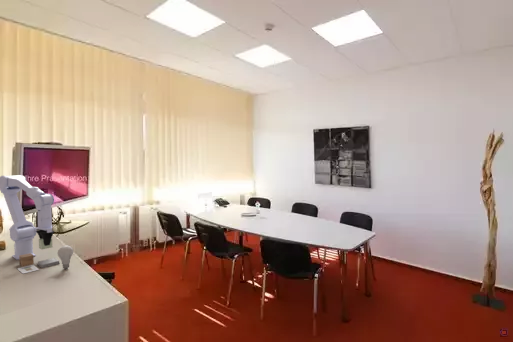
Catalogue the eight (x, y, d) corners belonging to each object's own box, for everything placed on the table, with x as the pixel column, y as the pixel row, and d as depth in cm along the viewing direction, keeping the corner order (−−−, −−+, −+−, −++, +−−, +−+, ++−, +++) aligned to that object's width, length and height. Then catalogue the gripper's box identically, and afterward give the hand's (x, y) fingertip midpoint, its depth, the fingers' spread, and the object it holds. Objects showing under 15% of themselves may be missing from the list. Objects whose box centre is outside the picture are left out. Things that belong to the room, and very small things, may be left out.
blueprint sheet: (16, 268, 132) (16, 268, 132) (32, 264, 137) (32, 264, 137) (22, 273, 126) (22, 273, 126) (39, 269, 131) (39, 269, 131)
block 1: (19, 264, 138) (19, 255, 138) (30, 262, 141) (30, 253, 141) (22, 266, 135) (21, 257, 135) (33, 264, 139) (33, 255, 138)
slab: (37, 264, 137) (37, 261, 137) (54, 260, 143) (54, 257, 143) (42, 268, 133) (42, 264, 133) (59, 263, 138) (59, 260, 138)
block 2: (39, 248, 144) (38, 239, 144) (49, 245, 148) (49, 237, 147) (41, 249, 141) (41, 240, 141) (52, 247, 145) (52, 238, 145)
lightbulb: (66, 271, 128) (65, 248, 128) (54, 271, 129) (53, 247, 129) (77, 266, 134) (76, 244, 134) (66, 266, 135) (65, 243, 135)
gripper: (30, 217, 145) (31, 243, 146) (39, 221, 136) (40, 248, 137) (47, 215, 151) (48, 240, 151) (56, 218, 142) (57, 245, 142)
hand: (45, 244), depth 144 cm, fingers closed on block 2, 4 cm apart
